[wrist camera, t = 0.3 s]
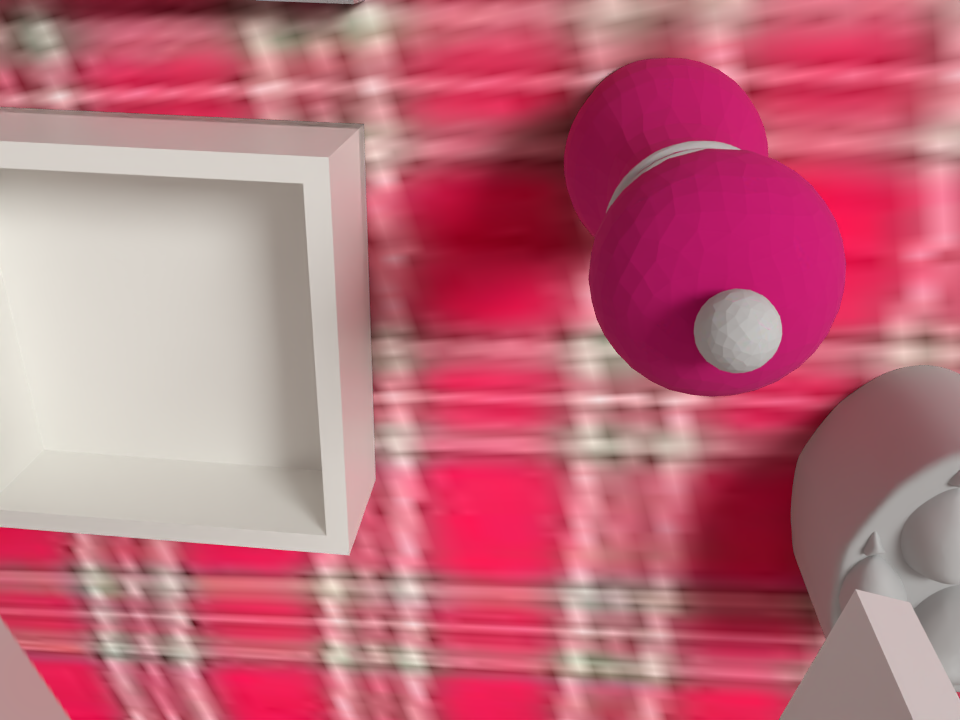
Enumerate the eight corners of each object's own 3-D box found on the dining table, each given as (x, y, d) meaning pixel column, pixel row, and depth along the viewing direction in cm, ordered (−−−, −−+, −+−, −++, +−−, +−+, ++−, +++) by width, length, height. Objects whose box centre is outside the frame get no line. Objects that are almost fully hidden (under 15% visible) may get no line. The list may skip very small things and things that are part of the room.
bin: (-46, 105, 37) (-149, 133, 31) (364, 124, 36) (328, 157, 30) (40, 454, 45) (-31, 524, 39) (375, 479, 44) (349, 555, 38)
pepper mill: (567, 227, 37) (571, 501, 19) (559, 52, 34) (555, 183, 16) (738, 217, 36) (911, 493, 18) (746, 36, 33) (965, 156, 15)
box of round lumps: (786, 590, 45) (832, 727, 37) (798, 372, 39) (856, 479, 31) (996, 584, 43) (1090, 725, 36) (1041, 357, 38) (1164, 466, 30)
